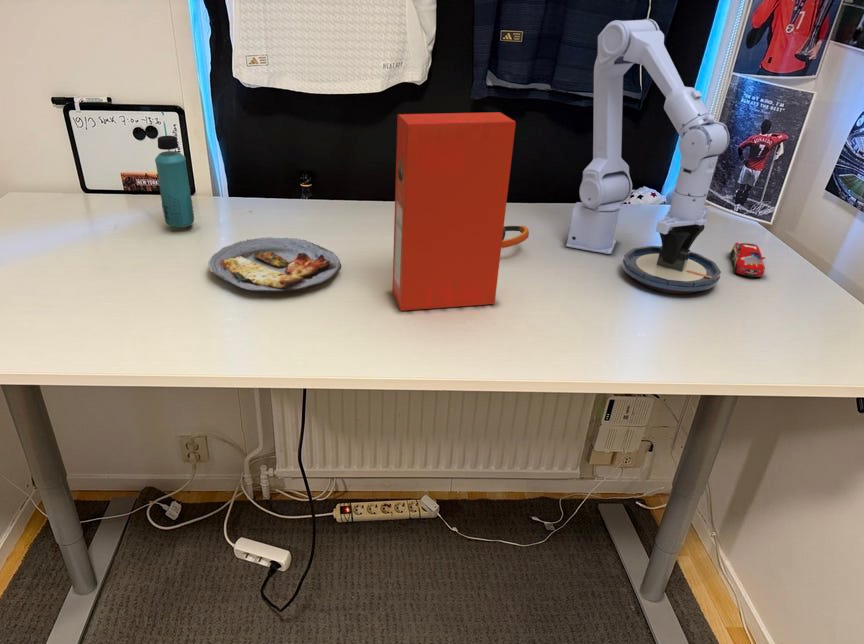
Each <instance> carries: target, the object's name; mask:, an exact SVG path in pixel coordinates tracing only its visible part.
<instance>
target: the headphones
mask: <svg viewBox="0 0 864 644" xmlns="http://www.w3.org/2000/svg"><path fill="white" fill-rule="evenodd" d="M506 232H519V233H520V234H519V235H516V236H514V237H512V238H507V239H505V237H506ZM529 236H530V230H529V228H528V227H527V226H525V225H504V228H503V237H502V245H501V249H505V248H509V247H513V246H517V245H519V244H521V243H523V242H525V241H526V240H527V239H528V238H529Z"/></svg>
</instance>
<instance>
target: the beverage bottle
mask: <svg viewBox="0 0 864 644" xmlns="http://www.w3.org/2000/svg"><path fill="white" fill-rule="evenodd" d="M157 148H158V149H159V150H165V151H162V152H159V154H157V156H156V157H155V159H154V162H155V166H156V172H157V180H158V186H159V194H160V195H159V196H160V197H159V198H160V200H161V209H162V214H163V218H164V222H165V224H166V226H168V227H171V228H183V227H189V226H191V225H193V224H194V222H195V218H196V217H195V212H194V210H195V209H194V206H193V205H194V203H193V202H194V201H193V200H192V193H191V192H192V190H191V186H190V181H189V175H188V167H187V162H186V161H187V160H186V156H185V155H184V154H182V153H181V152H179V151H176V150H175V149H178V148H179V143H178V138H177V136H174V135H161V136H158V137H157Z"/></svg>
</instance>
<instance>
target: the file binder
mask: <svg viewBox="0 0 864 644" xmlns="http://www.w3.org/2000/svg"><path fill="white" fill-rule="evenodd" d="M396 123H397V124H396V125H397V126H396V153H395V154H396V155H395V157H396V158H395V187H394V188H395V190H394V192H395V193H394V219H393V221H394V224H393V225H394V226H393V257H392V287H391V288H392V290H391V291H392V295H393V297H394V299H395V302H396V303H397V306H398V308H399V310H400V311H401V312H402V311H415V310H416V311H417V310H428V309H443V308H444V309H445V308H455V307H472V306H482V305H483V306H484V305H495V304H496V295H497V287H498V279H499V278H498V277H499V270H500V262H501V261H500V260H501V255H502V254H501V252H502V247H501V245H502V237H503V228H504V226H505V221H506V220H505V219H506V212H507V211H506V210H507V203H508V202H507V201H508V193H509V184H510V177H511V176H510V175H511V169H512V167H511V166H512V158H513V151H514V141H515V133H516V127H517V126H516V125H517V122H516V121H515V120H514V119H512V118H511V117H509V116H507V115H505V113H502V112H500V111H497V112H495V111H494V112H493V111H490V112H454V113H453V112H451V113H449V112H447V113H446V112H444V113H403V114H401V113H398V114H397V121H396Z"/></svg>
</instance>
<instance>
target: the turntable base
mask: <svg viewBox="0 0 864 644" xmlns="http://www.w3.org/2000/svg"><path fill="white" fill-rule="evenodd" d="M635 281H636V282H638V283H639V284H640V285H642V286H643V287H646V288H648V289H650V290H654V291H657V292H660V293H666V294H673V295H688V294H693V293H697V292H698V291H676V290H669V289H664V288H659V287H655V286H652V285H649V284H646V283H643V282H641V281H639V280H637V279H635Z"/></svg>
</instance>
